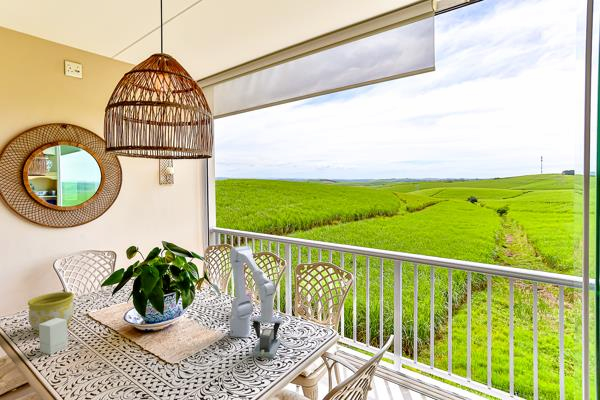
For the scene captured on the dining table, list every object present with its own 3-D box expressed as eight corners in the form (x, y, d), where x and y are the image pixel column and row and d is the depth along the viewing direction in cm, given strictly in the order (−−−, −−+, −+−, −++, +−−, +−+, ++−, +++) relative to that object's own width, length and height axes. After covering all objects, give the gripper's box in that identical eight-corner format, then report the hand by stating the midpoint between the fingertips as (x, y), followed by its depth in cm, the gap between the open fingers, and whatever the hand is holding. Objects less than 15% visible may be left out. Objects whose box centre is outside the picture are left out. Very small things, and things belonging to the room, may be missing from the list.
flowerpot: (28, 341, 138) (27, 307, 137) (29, 328, 152) (28, 297, 151) (75, 329, 150) (75, 298, 149) (73, 318, 163) (72, 289, 163)
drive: (259, 352, 129) (259, 336, 129) (264, 342, 137) (264, 327, 137) (269, 353, 129) (269, 337, 129) (273, 343, 137) (273, 328, 136)
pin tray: (251, 357, 126) (251, 349, 126) (261, 339, 141) (261, 332, 141) (272, 359, 125) (272, 351, 125) (280, 341, 140) (280, 334, 140)
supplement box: (68, 346, 134) (67, 319, 134) (50, 355, 127) (49, 326, 127) (57, 343, 137) (56, 317, 136) (39, 351, 130) (38, 324, 129)
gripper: (248, 311, 130) (248, 341, 130) (280, 313, 127) (280, 344, 128) (253, 305, 136) (253, 333, 137) (283, 307, 134) (283, 336, 135)
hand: (266, 338), depth 133 cm, fingers open, 7 cm apart
